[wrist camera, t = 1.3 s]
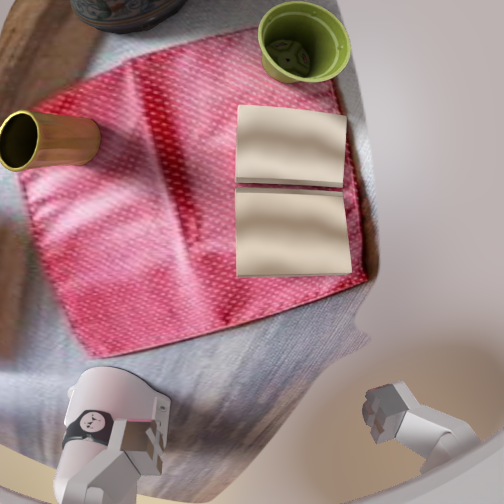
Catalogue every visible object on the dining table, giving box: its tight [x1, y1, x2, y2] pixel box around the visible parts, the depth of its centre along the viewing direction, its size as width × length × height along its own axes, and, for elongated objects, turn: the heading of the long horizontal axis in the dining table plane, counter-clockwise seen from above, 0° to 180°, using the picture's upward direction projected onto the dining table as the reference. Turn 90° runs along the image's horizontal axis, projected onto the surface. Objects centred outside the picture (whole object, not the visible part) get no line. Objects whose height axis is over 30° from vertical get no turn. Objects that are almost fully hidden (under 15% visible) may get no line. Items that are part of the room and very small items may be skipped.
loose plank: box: [235, 187, 352, 278], centre depth 35 cm, size 10×13×2 cm
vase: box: [0, 110, 101, 172], centre depth 25 cm, size 6×6×14 cm
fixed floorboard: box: [235, 105, 347, 188], centre depth 35 cm, size 9×13×2 cm
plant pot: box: [258, 1, 351, 83], centre depth 28 cm, size 9×9×9 cm
